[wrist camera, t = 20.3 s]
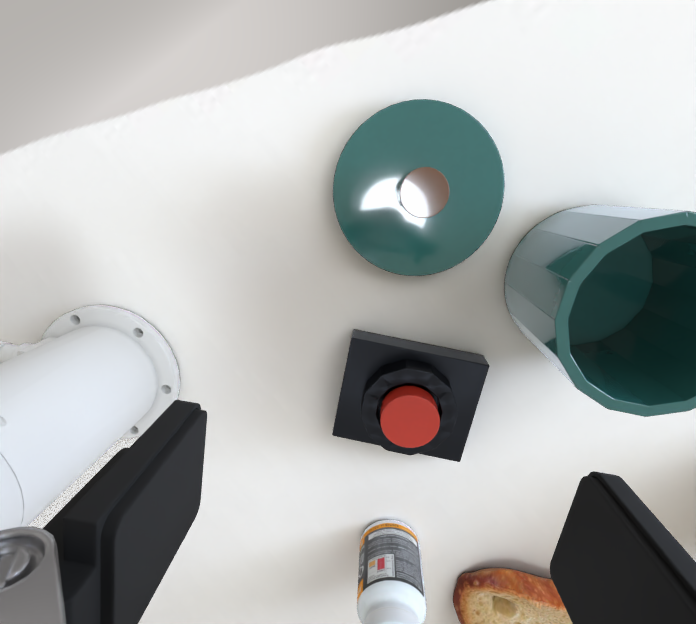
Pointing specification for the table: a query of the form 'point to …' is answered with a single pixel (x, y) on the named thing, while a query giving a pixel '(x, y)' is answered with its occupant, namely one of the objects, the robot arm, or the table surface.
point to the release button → (409, 416)
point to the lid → (418, 187)
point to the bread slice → (508, 598)
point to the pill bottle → (390, 575)
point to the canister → (612, 303)
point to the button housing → (409, 370)
